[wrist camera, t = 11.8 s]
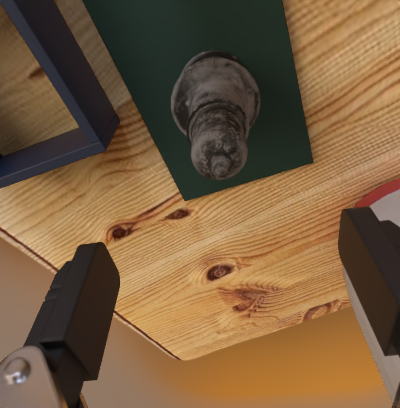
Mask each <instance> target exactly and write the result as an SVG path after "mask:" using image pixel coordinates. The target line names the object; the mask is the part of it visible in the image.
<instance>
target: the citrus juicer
mask: <svg viewBox="0 0 400 408" xmlns="http://www.w3.org/2000/svg"><path fill="white" fill-rule="evenodd" d="M363 206H369V207H370V208H371V209H372V210H373V212H374V213H375V215H376V217H377V218H378V220H379V221H384V220H390V221H392V222H393V223H395V224H396V225H398V226H399V227H400V179H397V180H393V181H391V182H389V183H386V184H384V185H382V186H380V187H378V188H377V189H375V190H374V191H372V192H370V193H369V194H367V195H366V196H365V197H364V198H363V199H362V200H360V201H359V202H358V203H357V204H356V205H355V207H354V208H356V207H363ZM343 273H344V278H345V283H346V288H347V292H348V295H349V298H350V301H351V304H352V307H353V310H354V313H355V315H356V318H357V321H358V323H359V325H360V328H361V330H362V332H363V335H364V337H365V340H366V342H367V344H368V347H369V349H370V351H371V354H372V356H373V359H374V361H375V363H376V366H377V368H378V370H379V373H380V375H381V378H382V380H383V382H384V385H385V387H386V389H387V392H388V394H389V396H390V399H391V401H392V404H393V402H394V398H395V395H396V391H397V388H398V384H399V381H400V358H399V356H398V355H394V356H384V354H383V352H382V350H381V347H380V345H379V343H378V341H377V339H376V336H375V334H374V332H373V330H372V327H371V325H370V323H369V321H368V319H367V316H366V314H365V312H364V310H363V308H362V305H361V303H360V301H359V299H358V297H357V294H356V292H355V290H354V288H353V286H352V283H351V281H350V279H349V277H348V275H347V272H346V270H345V268H344V266H343Z"/></svg>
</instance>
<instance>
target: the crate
mask: <svg viewBox="0 0 400 408" xmlns="http://www.w3.org/2000/svg"><path fill="white" fill-rule="evenodd" d="M0 3H1V5H2V6H3V8H4V9H5V11H6V12H7V14H8V16H9V17H10V19H11V20H12V22H13V23H14V25H15V26H16V28H17V30H18V31H19V33H20V34H21V36H22V37H23V39H24V41H25V42H26V44H27V45H28V47H29V48H30V50H31V52H32V53H33V55H34V56H35V58H36V59H37V61H38V62H39V64H40V66H41V67H42V69H43V70H44V72H45V73H46V75H47V77H48V78H49V80H50V81H51V83H52V84H53V86H54V87H55V89H56V91H57V92H58V94H59V95H60V97H61V98H62V100H63V102H64V103H65V105H66V106H67V108H68V109H69V111H70V112H71V114H72V116H73V117H74V119H75V120H76V122H77V123H78V125H79V128H76V129H74V130H71V131H69V132H66V133H63V134H61V135H58V136H56V137H53V138H50V139H48V140H45V141H43V142H40V143H37V144H35V145H32V146H30V147H27V148H24V149H22V150H19V151H17V152H14V153H11V154H9V155H6V156H4V157H2V155H1V154H0V188H3V187H6V186H9V185H12V184H14V183H17V182H20V181H23V180H25V179H28V178H31V177H34V176H37V175H39V174H42V173H45V172H48V171H51V170H53V169H56V168H59V167H62V166H64V165H67V164H70V163H73V162H76V161H78V160H81V159H84V158H87V157H90V156H92V155H95V154H98V153H101V152H103V151H106V150H107V148H108V146H109V144H110V142H111V140H112V138H113V136H114V134H115V132H116V130H117V128H118V126H119V124H120V120H119V118H118V116H117V114H115V111H114V109H113V107H112V105H111V103H110V102H109V100H108V98H107V96H106V94H105V92H104V91H103V89H102V87H101V85H100V83H99V82H98V80H97V78H96V76H95V74H94V73H93V71H92V69H91V67H90V65H89V64H88V62H87V60H86V58H85V56H84V55H83V53H82V51H81V49H80V47H79V45H78V44H77V42H76V40H75V38H74V36H73V35H72V33H71V31H70V29H69V27H68V26H67V24H66V22H65V20H64V18H63V17H62V15H61V13H60V11H59V9H58V8H57V6H56V4H55V2H54V0H0Z"/></svg>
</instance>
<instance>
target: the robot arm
mask: <svg viewBox="0 0 400 408" xmlns="http://www.w3.org/2000/svg"><path fill="white" fill-rule="evenodd" d="M338 249H339V255H340V258H341V261H342V264H343V266H344V268H345V270H346V272H347V275H348V277H349V279H350V281H351V283H352V286H353V288H354V290H355V292H356V294H357V297H358V299H359V301H360V303H361V305H362V308H363V310H364V312H365V314H366V316H367V319H368V321H369V323H370V325H371V327H372V330H373V332H374V334H375V336H376V339H377V341H378V343H379V345H380V347H381V350H382V352H383V354H384V356H394V355H398V356H399V358H400V227H399V226H398V225H396V224H395V223H393V222H392V221H390V220H384V221H379V220H378V218H377V217H376V215H375V213H374V212H373V210H372V209H371V208H370V207H369V206H363V207H356V208H349V209H343V210H342V212H341V219H340V229H339V239H338ZM119 288H120V276H119V272H118V269H117V267H116V265H115V263H114V261H113V259H112V258H111V256H110V254H109V252H108V250H107V248H106V246H105V244H104V243H103V242H97V243H90V244H83V245H80V246H79V247H78V248H77V250H76V253H75V255H74V257H73V260H72V261H68V262H66V263H65V264H64V265H63V267H62V268H61V269H60V270H59V271H58V272H57V273H56V275H55V277H54V280H53V282H52V284H51V286H50V290H49V291H48V293H47V295H46V297H45V301H44V302H43V304H42V306H41V308H40V311H39V313H38V315H37V317H36V320H35V322H34V324H33V326H32V329H31V331H30V333H29V335H28V337H27V340H26V342H25V344H24V346H23V347H21V348H19V349H17V350H15V351H13V352H12V353H10V354H9V355H8V356H7V357H5V358H4V359H3V360H2V362H1V363H0V408H88V406H87V404H86V402H85V400H84V397H83V395H82V393H81V389H82V386H83V382H84V381H90V380H97V378H98V374H99V370H100V366H101V362H102V358H103V354H104V349H105V345H106V341H107V337H108V333H109V329H110V325H111V320H112V317H113V313H114V308H115V304H116V300H117V296H118V292H119ZM392 408H400V381H399V384H398V388H397V391H396V395H395V398H394V402H393V406H392Z"/></svg>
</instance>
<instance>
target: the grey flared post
mask: <svg viewBox="0 0 400 408" xmlns="http://www.w3.org/2000/svg"><path fill="white" fill-rule="evenodd" d="M259 108H260V93H259V89H258V86H257V84H256V81H255V79H254V78H253V76H252V75H251V74H250V73H249V71H248V70H247V69H246V68H245V67H244V65H243V64H242V63H241V61H240V60H239V59H238V58H236V57H235V56H233V55H232V54H230V53H227V52H225V51H221V50H210V51H205V52H202V53H200V54H198V55H196V56H194V57H193V58H192V59H191V60H190V61H189V62H188V63H187V64H186V65H185V67H184V69H183V71H182V72H181V75H180V77H179V78H178V80H177V82H176V83H175V85H174V88H173V92H172V96H171V110H172V114H173V118H174V121H175V122H176V124H177V126H178V127H179V129H180V130H181V131H182V132H183V133H184V134H185V135H186V136H187V140H188V142H189V144H190V146H191V158H192V162H193V165H194V167H195V168H196V170H197V171H198V172H199V173H200V174H201V175H202V176H204V177H206V178H209V179H213V180H223V179H228V178H230V177H232V176H234V175H235V174H237V173H238V172H239V171H240V170H241V169H242V168H243V166H244V164H245V162H246V159H247V154H248V149H247V143H246V139H247V137H248V134H249V129H250V128H251V127H252V126H253V124H254V123H255V120H256V118H257V116H258V114H259Z"/></svg>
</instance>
